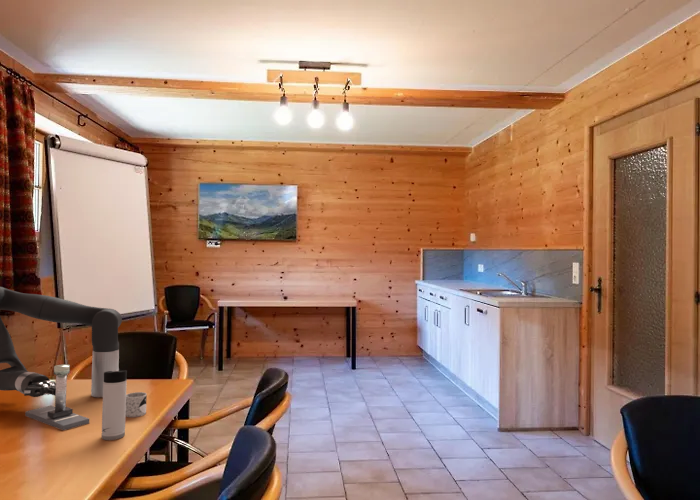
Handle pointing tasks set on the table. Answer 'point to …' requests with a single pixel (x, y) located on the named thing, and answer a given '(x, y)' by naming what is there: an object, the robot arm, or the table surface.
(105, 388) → the travel mug
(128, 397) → the mug
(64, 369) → the fader
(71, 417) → the fader panel
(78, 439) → the table surface
